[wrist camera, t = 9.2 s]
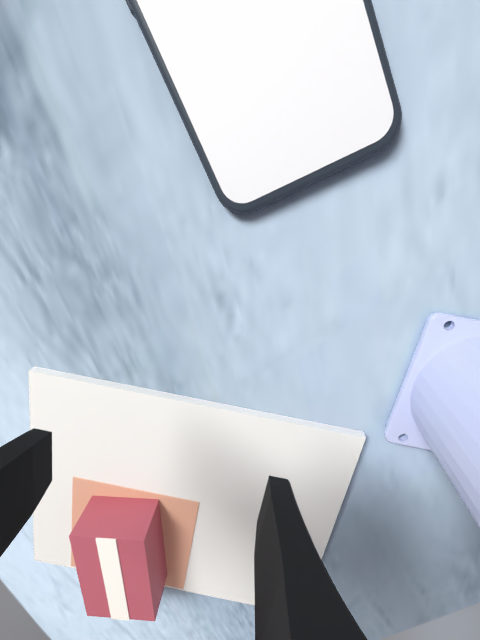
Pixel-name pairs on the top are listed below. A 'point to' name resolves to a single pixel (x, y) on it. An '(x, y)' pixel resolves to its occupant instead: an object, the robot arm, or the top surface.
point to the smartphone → (273, 89)
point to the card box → (120, 557)
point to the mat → (183, 473)
